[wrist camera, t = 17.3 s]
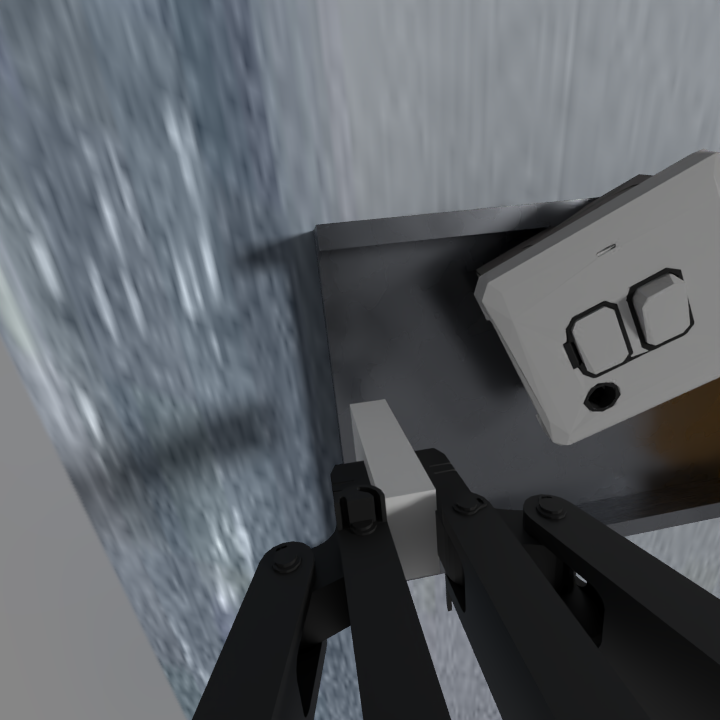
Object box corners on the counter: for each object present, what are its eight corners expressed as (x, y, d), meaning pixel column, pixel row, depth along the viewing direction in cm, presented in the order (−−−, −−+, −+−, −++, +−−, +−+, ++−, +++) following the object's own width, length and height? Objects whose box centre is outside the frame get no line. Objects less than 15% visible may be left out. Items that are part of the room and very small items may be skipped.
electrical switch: (557, 455, 19) (492, 312, 14) (510, 385, 23) (447, 256, 18) (770, 360, 17) (789, 150, 12) (676, 302, 21) (659, 129, 16)
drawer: (313, 230, 19) (321, 214, 12) (748, 187, 22) (969, 153, 15) (353, 543, 24) (375, 666, 17) (706, 476, 27) (857, 557, 19)
